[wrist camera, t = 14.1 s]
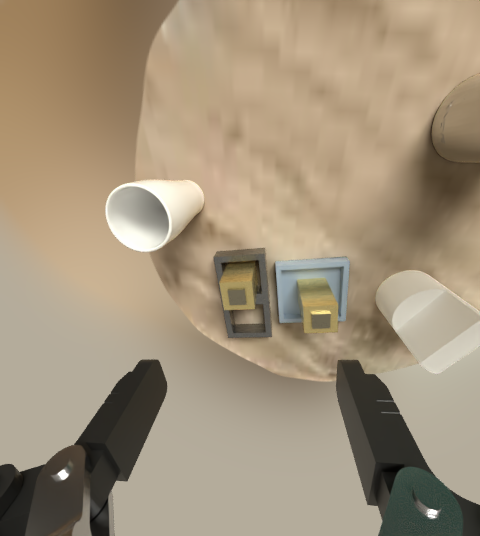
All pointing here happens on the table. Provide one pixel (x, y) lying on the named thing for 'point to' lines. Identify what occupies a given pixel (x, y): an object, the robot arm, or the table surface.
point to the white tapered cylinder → (152, 212)
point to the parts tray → (308, 269)
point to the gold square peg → (317, 306)
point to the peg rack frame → (261, 296)
